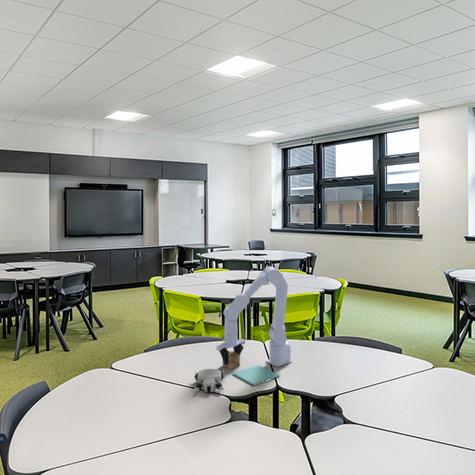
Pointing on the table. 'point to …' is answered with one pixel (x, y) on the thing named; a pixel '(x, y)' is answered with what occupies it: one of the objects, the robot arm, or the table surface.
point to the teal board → (255, 374)
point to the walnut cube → (233, 360)
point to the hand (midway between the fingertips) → (231, 362)
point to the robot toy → (209, 380)
